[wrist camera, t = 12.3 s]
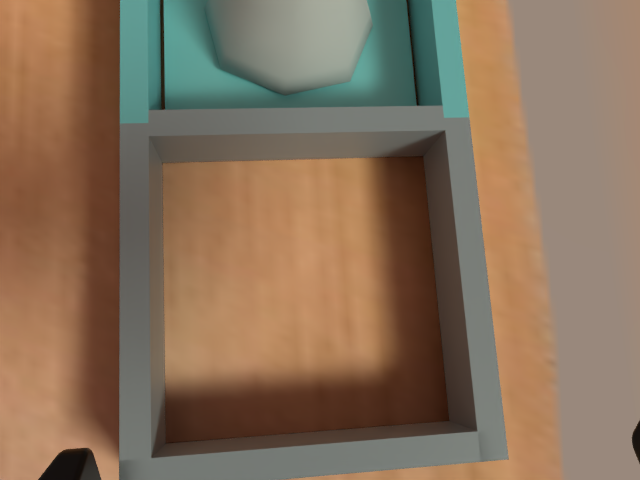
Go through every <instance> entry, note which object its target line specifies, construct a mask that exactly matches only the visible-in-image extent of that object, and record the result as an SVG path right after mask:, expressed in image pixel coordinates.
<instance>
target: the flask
mask: <svg viewBox="0 0 640 480" xmlns="http://www.w3.org/2000/svg"><path fill="white" fill-rule="evenodd" d="M204 9H205V12H206V16H207V20H208V24H209V27H210V31H211V35H212V38H213V42H214V46H215V50H216V53H217V57H218V61H219V65H220V68H221V70H223V71H226V72H228V73H231V74H233V75H236V76H238V77H240V78H243V79H245V80H248V81H250V82H253V83H255V84H258V85H260V86H263V87H265V88H267V89H270V90H272V91H275V92H277V93H280V94H282V95H290V94H295V93H299V92H304V91H309V90H313V89H318V88H322V87H327V86H332V85H336V84H341V83H345V82H350V80H351V78H352V76H353V73H354V71H355V68H356V66H357V63H358V61H359V58H360V56H361V54H362V51H363V49H364V46H365V44H366V41H367V39H368V36H369V34H370V32H371V29H372V27H373V23H372V19H371V14H370V10H369V7H368V3H367V0H208V1H207V3H206V6H205V8H204Z"/></svg>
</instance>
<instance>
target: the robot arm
mask: <svg viewBox="0 0 640 480" xmlns="http://www.w3.org/2000/svg"><path fill="white" fill-rule="evenodd" d="M632 443H633V448H634V451H635V453H636V456H637V458H638V460H639V463H640V421H639V422H638V424H637V426H636V428H635V430H634V432H633V435H632ZM38 480H101V477H100V474H99V471H98V467H97V464H96V461H95V458H94V455H93V452H92V450H90V449H89V448H77V449H66V450H63V451H62V452H60V453H59V454H58V455H57V456H56V458H55V459H54V460H53V461H52V463H51V464H50V465H49V467H48V468H47V469H46V470H45V472H44V473H43V474H42V476H41V477H40V478H39V479H38Z"/></svg>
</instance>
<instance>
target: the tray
mask: <svg viewBox="0 0 640 480" xmlns="http://www.w3.org/2000/svg"><path fill="white" fill-rule="evenodd" d="M207 1H208V0H164V64H165V110H162V95H161V14H160V0H120V324H119V480H280V479H292V478H303V477H314V476H325V475H337V474H348V473H359V472H371V471H382V470H393V469H405V468H416V467H427V466H438V465H450V464H461V463H472V462H484V461H495V460H506V459H509V458H508V450H507V441H506V432H505V424H504V415H503V406H502V398H501V389H500V380H499V372H498V363H497V354H496V346H495V337H494V328H493V320H492V311H491V302H490V294H489V285H488V276H487V268H486V259H485V250H484V241H483V233H482V224H481V215H480V207H479V198H478V189H477V181H476V172H475V163H474V155H473V146H472V137H471V129H470V120H469V111H468V103H467V94H466V85H465V77H464V68H463V59H462V51H461V42H460V33H459V25H458V16H457V7H456V0H408V6H409V16H410V27H411V37H412V47H413V57H414V67H415V77H416V87H417V98H418V106H417V104H416V94H415V84H414V73H413V63H412V53H411V43H410V33H409V22H408V12H407V2H406V0H367V3H368V7H369V10H370V14H371V19H372V23H373V27H372V29H371V32H370V34H369V36H368V39H367V41H366V44H365V46H364V49H363V51H362V54H361V56H360V58H359V61H358V63H357V66H356V68H355V71H354V73H353V76H352V78H351V80H350V82H345V83H341V84H336V85H332V86H327V87H322V88H318V89H313V90H309V91H304V92H299V93H295V94H290V95H282V94H280V93H277V92H275V91H272V90H270V89H267V88H265V87H263V86H260V85H258V84H255V83H253V82H250V81H248V80H245V79H243V78H240V77H238V76H236V75H233V74H231V73H228V72H226V71H223V70H221V68H220V65H219V61H218V57H217V53H216V50H215V46H214V42H213V38H212V35H211V31H210V27H209V24H208V20H207V16H206V12H205V9H204V8H205V6H206V3H207ZM411 156H423V158H424V169H425V179H426V189H427V199H428V209H429V219H430V229H431V240H432V250H433V260H434V270H435V280H436V290H437V300H438V311H439V321H440V331H441V341H442V351H443V361H444V371H445V382H446V392H447V402H448V412H449V421H442V422H429V423H417V424H404V425H392V426H379V427H366V428H354V429H341V430H329V431H316V432H304V433H291V434H279V435H266V436H253V437H241V438H228V439H216V440H203V441H191V442H178V443H166V422H165V340H164V259H163V177H162V163H174V162H214V161H253V160H293V159H332V158H371V157H411Z"/></svg>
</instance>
